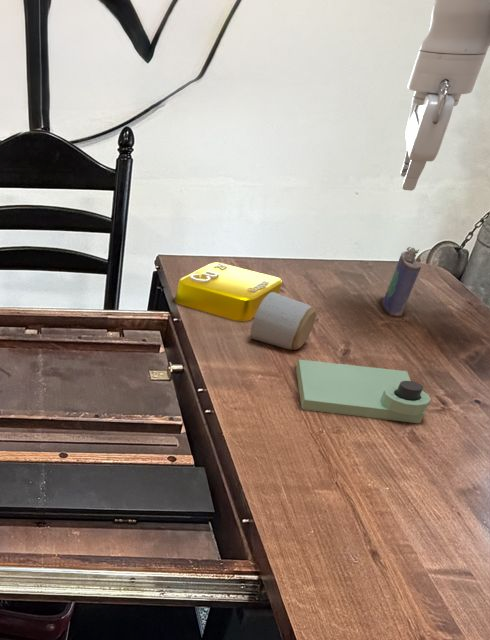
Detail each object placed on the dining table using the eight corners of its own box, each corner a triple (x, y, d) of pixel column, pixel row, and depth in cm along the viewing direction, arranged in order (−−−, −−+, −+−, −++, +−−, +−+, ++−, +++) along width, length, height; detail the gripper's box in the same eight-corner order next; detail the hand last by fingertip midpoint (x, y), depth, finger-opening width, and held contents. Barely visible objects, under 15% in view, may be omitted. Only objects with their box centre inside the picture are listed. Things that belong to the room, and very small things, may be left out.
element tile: (243, 325, 126) (250, 298, 123) (170, 304, 133) (175, 277, 130) (280, 302, 134) (287, 276, 131) (209, 283, 141) (214, 258, 138)
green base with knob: (405, 383, 110) (414, 361, 108) (423, 429, 99) (434, 407, 97) (295, 370, 113) (301, 349, 110) (301, 414, 102) (308, 392, 100)
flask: (402, 319, 129) (426, 256, 122) (385, 317, 129) (408, 255, 122) (395, 301, 135) (418, 241, 128) (379, 300, 136) (401, 239, 129)
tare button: (416, 393, 101) (421, 381, 99) (419, 403, 98) (425, 391, 97) (393, 390, 101) (398, 379, 100) (396, 400, 99) (401, 388, 98)
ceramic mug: (292, 358, 116) (307, 310, 111) (245, 344, 120) (257, 298, 114) (316, 339, 122) (331, 293, 117) (270, 326, 126) (283, 281, 121)
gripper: (474, 86, 97) (431, 200, 106) (461, 69, 111) (424, 170, 120) (423, 84, 98) (386, 196, 108) (417, 67, 112) (384, 167, 122)
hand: (406, 182), depth 114 cm, fingers open, 8 cm apart
